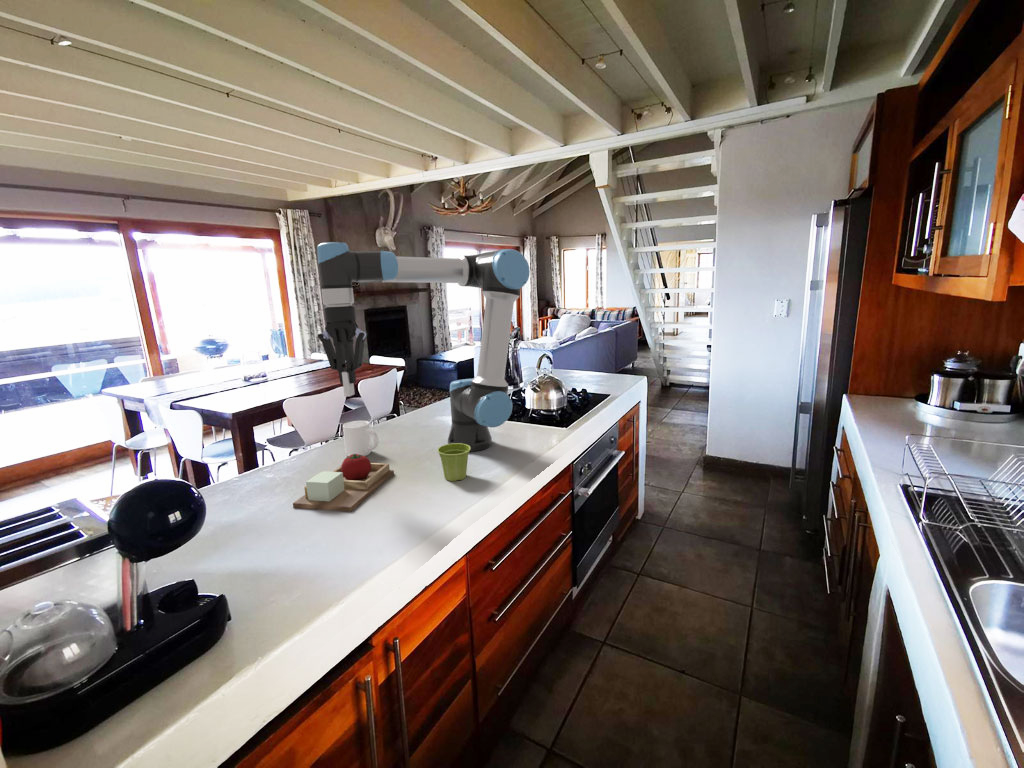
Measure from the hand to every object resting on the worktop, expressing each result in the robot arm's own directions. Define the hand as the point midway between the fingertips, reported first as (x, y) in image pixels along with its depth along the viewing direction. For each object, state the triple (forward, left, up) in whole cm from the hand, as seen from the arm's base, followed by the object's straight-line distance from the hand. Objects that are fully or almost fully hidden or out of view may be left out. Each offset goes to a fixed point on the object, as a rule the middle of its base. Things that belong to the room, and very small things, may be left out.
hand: (349, 395), depth 125 cm
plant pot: (-25, -10, -26) cm, 37 cm away
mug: (+12, -25, -26) cm, 38 cm away
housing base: (+2, +2, -26) cm, 26 cm away
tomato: (+2, -3, -25) cm, 25 cm away
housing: (+4, +9, -25) cm, 27 cm away
